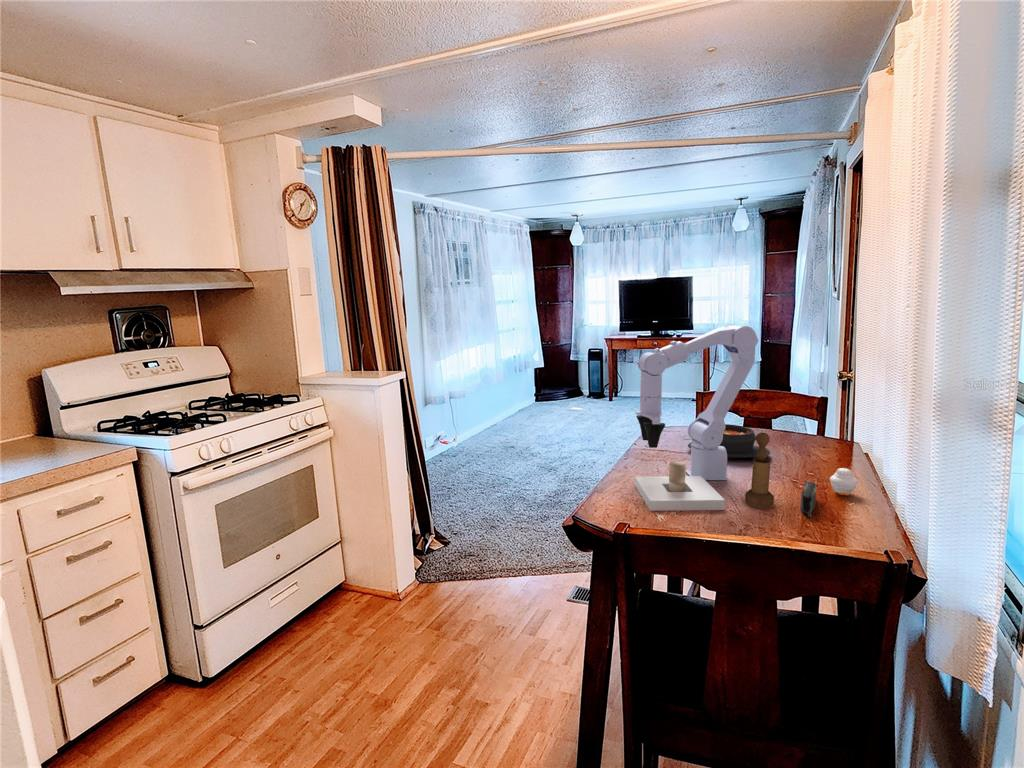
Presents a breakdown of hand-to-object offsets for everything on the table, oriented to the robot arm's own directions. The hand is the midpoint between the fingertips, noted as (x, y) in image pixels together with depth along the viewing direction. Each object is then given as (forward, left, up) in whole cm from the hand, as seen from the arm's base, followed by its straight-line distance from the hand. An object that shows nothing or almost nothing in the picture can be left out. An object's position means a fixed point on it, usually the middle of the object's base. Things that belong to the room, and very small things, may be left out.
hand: (649, 443), depth 156 cm
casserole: (-31, -24, -11) cm, 41 cm away
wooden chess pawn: (-23, +19, -11) cm, 32 cm away
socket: (-4, +14, -10) cm, 18 cm away
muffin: (-47, +13, -11) cm, 50 cm away
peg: (-4, +14, -10) cm, 18 cm away
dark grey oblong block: (-34, +22, -11) cm, 42 cm away
